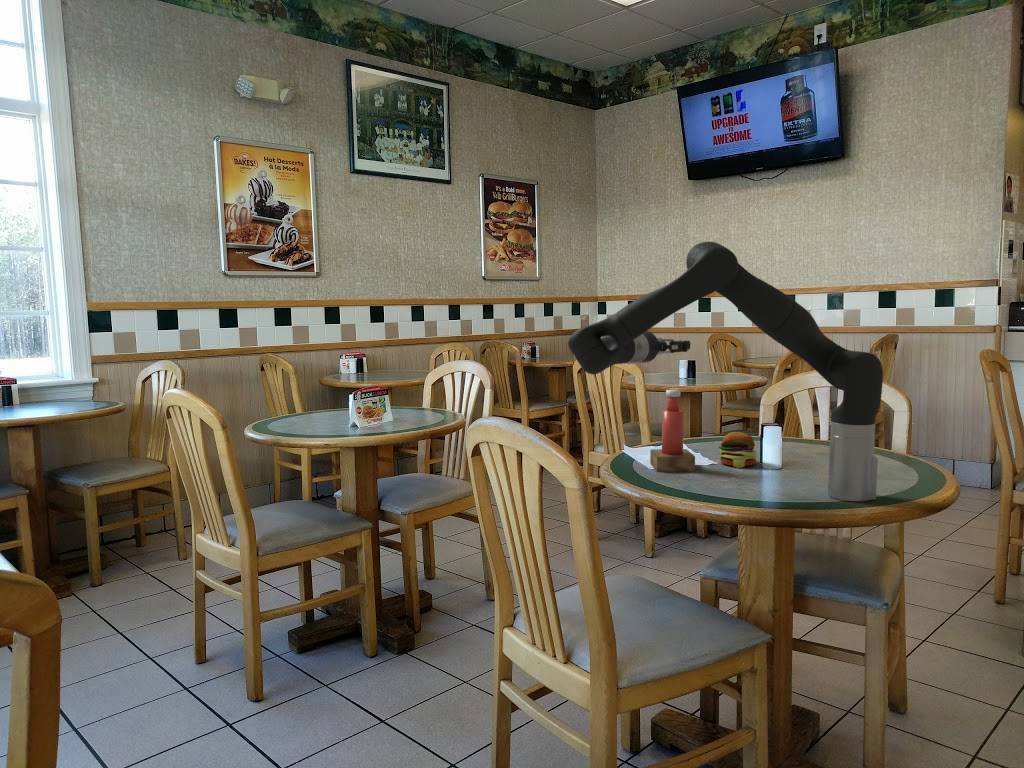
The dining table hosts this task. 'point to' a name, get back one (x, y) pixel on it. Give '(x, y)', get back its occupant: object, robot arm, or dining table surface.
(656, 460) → the walnut block
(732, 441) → the cheeseburger
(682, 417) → the ketchup bottle
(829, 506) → the dining table surface
